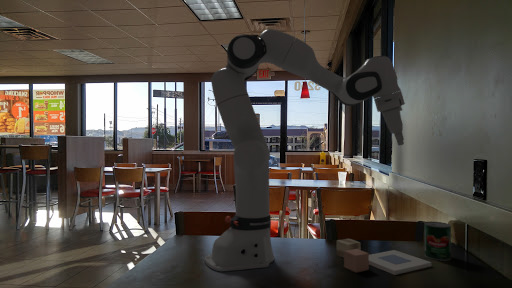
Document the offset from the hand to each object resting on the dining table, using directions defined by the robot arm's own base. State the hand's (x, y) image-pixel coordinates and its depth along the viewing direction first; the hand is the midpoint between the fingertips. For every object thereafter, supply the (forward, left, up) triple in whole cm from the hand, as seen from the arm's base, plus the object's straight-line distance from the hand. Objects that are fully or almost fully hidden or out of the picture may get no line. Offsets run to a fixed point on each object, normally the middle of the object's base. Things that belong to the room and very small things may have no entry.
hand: (401, 142), depth 114 cm
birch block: (-16, +8, -38) cm, 42 cm away
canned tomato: (+10, -6, -38) cm, 40 cm away
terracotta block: (-22, -2, -38) cm, 44 cm away
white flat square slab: (-8, -4, -38) cm, 39 cm away
